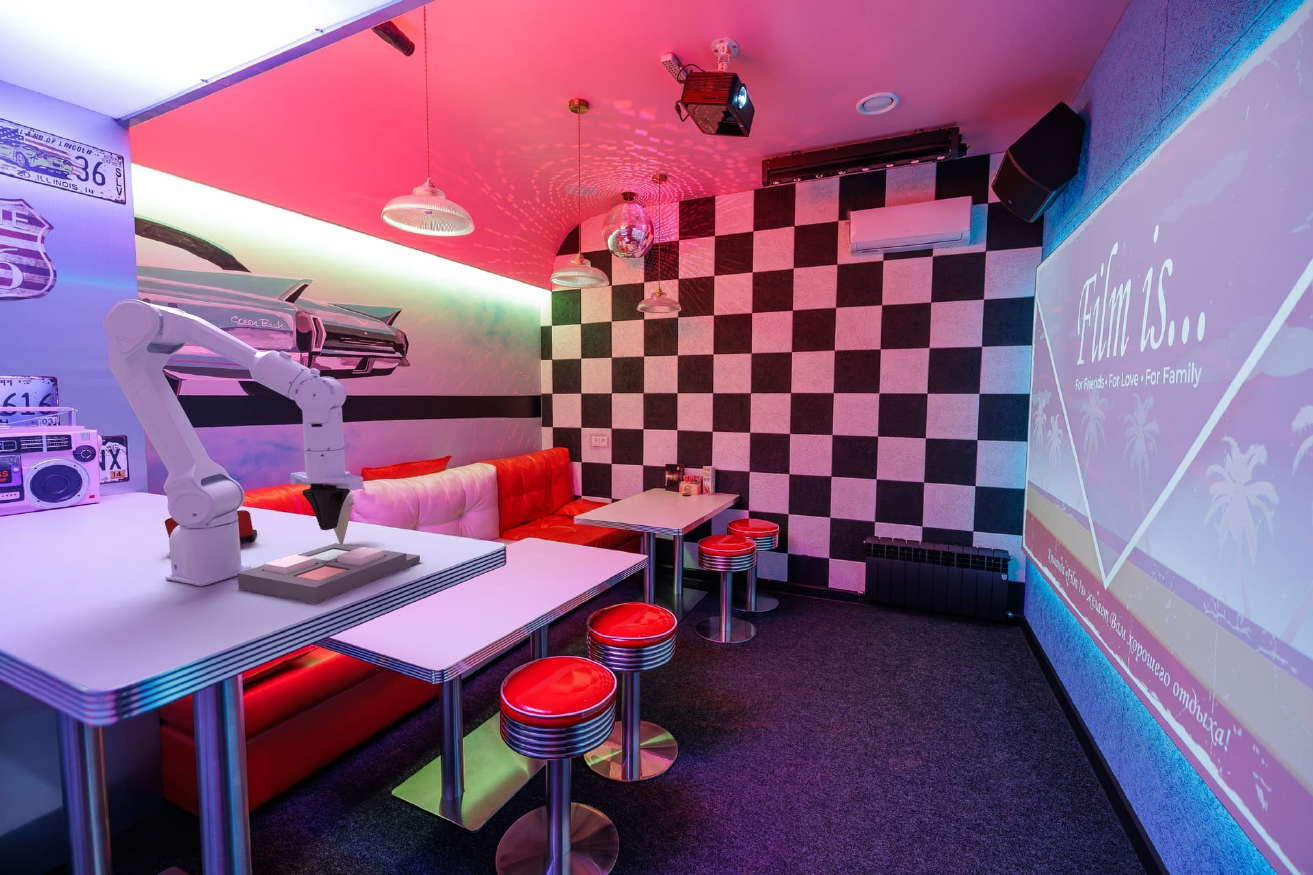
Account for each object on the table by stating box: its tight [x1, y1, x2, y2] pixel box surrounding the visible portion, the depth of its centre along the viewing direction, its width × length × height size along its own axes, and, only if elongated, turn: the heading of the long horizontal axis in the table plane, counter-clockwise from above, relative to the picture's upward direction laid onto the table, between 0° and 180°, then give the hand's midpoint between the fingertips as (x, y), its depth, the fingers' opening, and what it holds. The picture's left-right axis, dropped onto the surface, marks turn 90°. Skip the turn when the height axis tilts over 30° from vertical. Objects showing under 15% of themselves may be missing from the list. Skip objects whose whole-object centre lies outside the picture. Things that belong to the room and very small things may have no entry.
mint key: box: [310, 549, 349, 561], centre depth 91 cm, size 5×5×1 cm
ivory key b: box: [337, 546, 385, 566], centre depth 89 cm, size 5×5×1 cm
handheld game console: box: [164, 509, 258, 544], centre depth 105 cm, size 12×11×7 cm
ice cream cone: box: [333, 490, 355, 544], centre depth 104 cm, size 5×5×15 cm
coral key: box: [296, 566, 346, 581], centre depth 82 cm, size 5×5×1 cm
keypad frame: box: [237, 542, 421, 605], centre depth 88 cm, size 17×20×2 cm
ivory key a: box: [263, 554, 315, 575], centre depth 85 cm, size 5×5×1 cm
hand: (328, 528), depth 91 cm, fingers closed
